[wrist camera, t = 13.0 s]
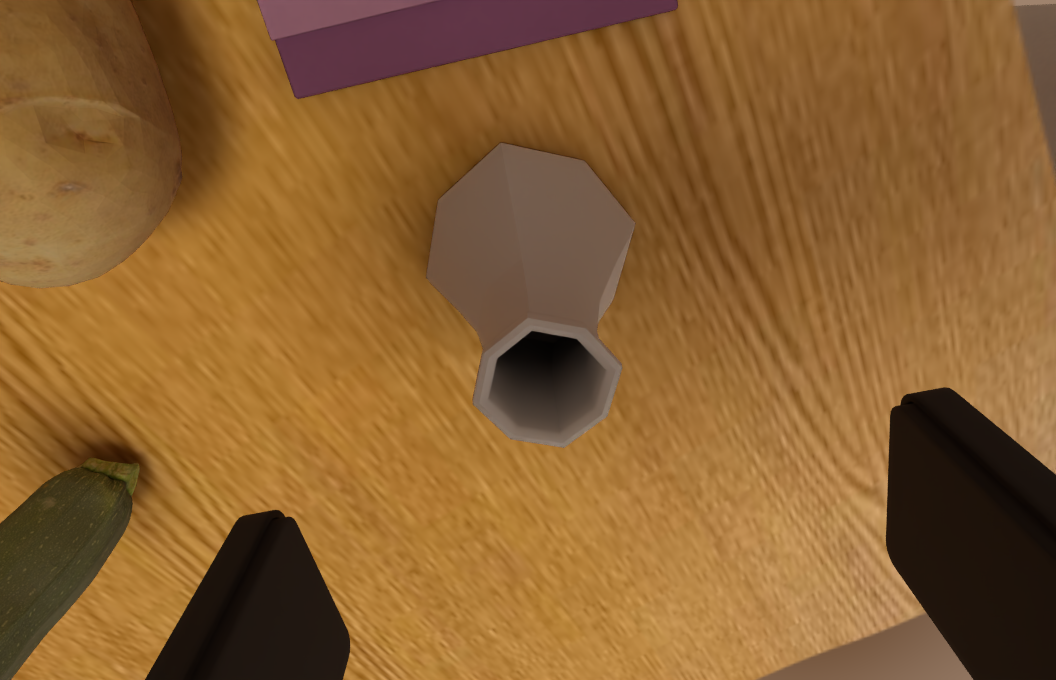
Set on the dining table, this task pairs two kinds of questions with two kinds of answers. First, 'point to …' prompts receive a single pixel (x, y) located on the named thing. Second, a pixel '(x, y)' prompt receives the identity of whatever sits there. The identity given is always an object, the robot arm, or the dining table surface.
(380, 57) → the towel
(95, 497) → the vegetable
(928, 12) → the dining table surface
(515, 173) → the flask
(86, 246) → the potato
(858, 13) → the dining table surface
